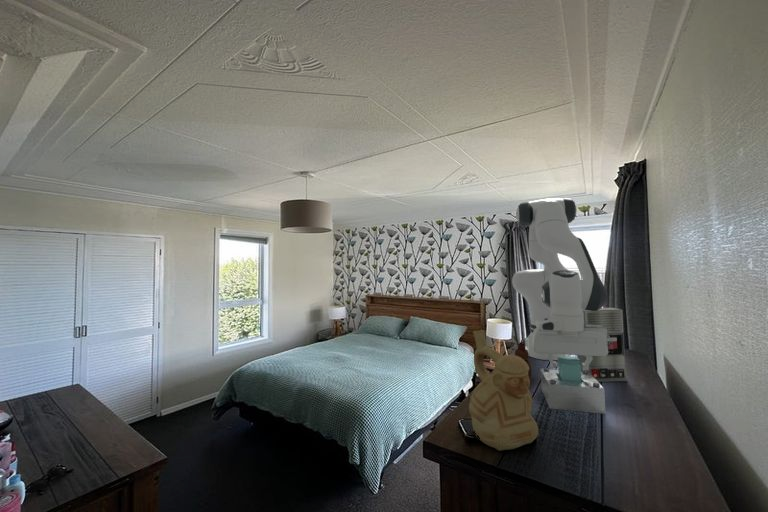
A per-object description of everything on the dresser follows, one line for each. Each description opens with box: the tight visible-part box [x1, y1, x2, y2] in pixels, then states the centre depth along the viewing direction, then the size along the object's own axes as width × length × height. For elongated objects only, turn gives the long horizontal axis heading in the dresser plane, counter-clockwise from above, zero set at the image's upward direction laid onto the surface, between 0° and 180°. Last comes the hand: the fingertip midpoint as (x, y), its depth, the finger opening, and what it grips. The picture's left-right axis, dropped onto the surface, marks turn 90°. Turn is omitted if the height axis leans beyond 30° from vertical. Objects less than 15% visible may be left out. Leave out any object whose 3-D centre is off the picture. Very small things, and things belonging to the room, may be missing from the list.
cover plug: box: [557, 355, 581, 382], centre depth 97 cm, size 6×6×13 cm
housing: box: [540, 367, 607, 415], centre depth 97 cm, size 14×14×8 cm
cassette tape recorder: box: [577, 307, 629, 383], centre depth 113 cm, size 14×6×25 cm, turn 90°
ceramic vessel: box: [468, 329, 539, 452], centre depth 79 cm, size 17×20×25 cm
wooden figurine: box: [514, 339, 532, 380], centre depth 115 cm, size 7×6×15 cm
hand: (569, 368), depth 97 cm, fingers open, 7 cm apart
